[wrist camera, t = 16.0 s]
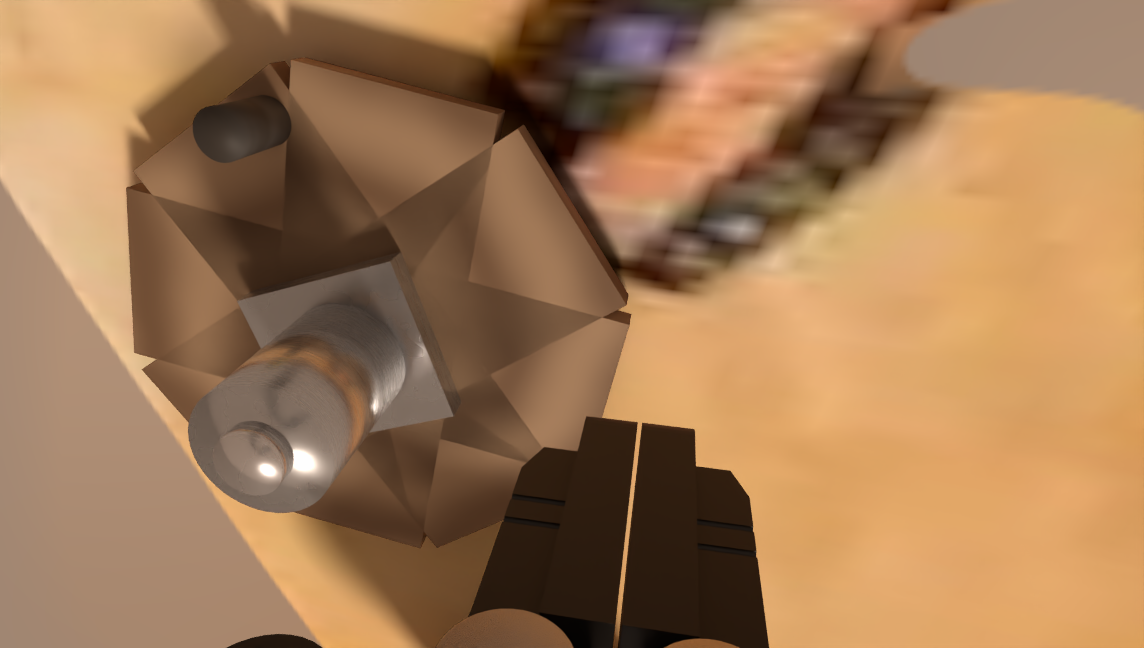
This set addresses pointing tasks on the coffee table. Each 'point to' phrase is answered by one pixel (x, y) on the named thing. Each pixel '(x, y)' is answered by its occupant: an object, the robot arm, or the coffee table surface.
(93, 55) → the coffee table surface
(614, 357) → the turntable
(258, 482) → the silver post on plate
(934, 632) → the coffee table surface
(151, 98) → the coffee table surface
